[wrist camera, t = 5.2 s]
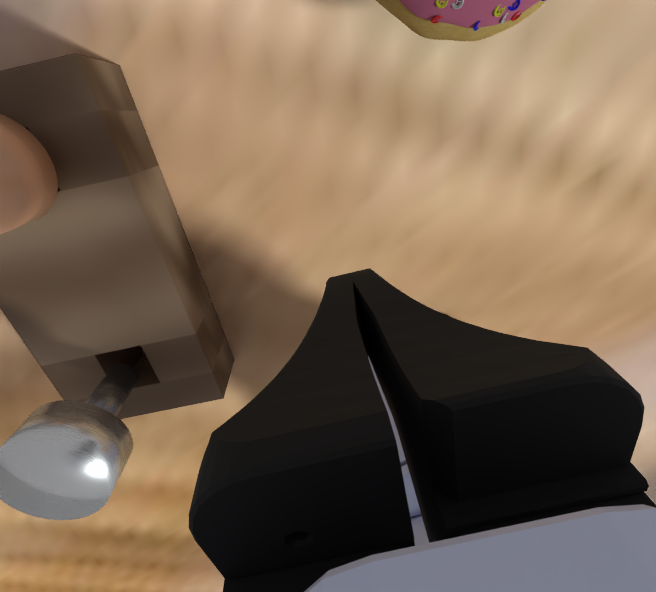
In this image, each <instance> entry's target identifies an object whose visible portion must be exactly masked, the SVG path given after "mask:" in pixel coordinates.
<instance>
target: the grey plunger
mask: <svg viewBox="0 0 656 592" xmlns="http://www.w3.org/2000/svg"><path fill="white" fill-rule="evenodd" d="M138 379H139V376H138V373H137V371H136V370H135V369H134V368H132V367H131V366H129V365H125V364H117V365H114V366H113V367H111V369H110V370H109V371H108V372H107V374H106V375H105V376H104V378H103V379H102V380H101V382H100V383H99V384H98V386H97V387H96V388H95V390H94V391H93V392H92V394H91V395H90V396H89V398H88V399H87V400H86V402H81V401H70V400H65V401H55V402H51V403H47V404H45V405H42V406H40V407H39V408H37V409H36V410H35V411H33V412H32V413H31V414H30V415H29V417H28V418H27V419H26V420H25V421H24V422H23V423H22V424H21V425H20V427H19V428H18V429H17V430H16V431H15V432H14V433H13V434H12V435H11V436H10V438H9V439H8V440H7V441H6V442H5V443H4V444H3V445H2V446H1V447H0V499H1V500H2V501H3V502H5V503H6V504H8V505H9V506H11V507H12V508H14V509H16V510H18V511H21V512H23V513H26V514H29V515H32V516H35V517H39V518H44V519H52V520H72V519H79V518H83V517H86V516H89V515H91V514H93V513H95V512H97V511H98V510H100V509H101V508H102V507H103V506H104V505H105V504H106V502H107V501H108V499H109V497H110V495H111V493H112V491H113V489H114V487H115V485H116V483H117V481H118V479H119V477H120V475H121V473H122V471H123V469H124V467H125V465H126V463H127V461H128V459H129V457H130V455H131V453H132V450H133V439H132V436H131V433H130V431H129V429H128V428H127V427H126V425H125V424H124V423H123V422H122V421H121V420H120V419H119V418H118V417H117V414H118V412H119V411H120V409H121V408H122V406H123V404H124V403H125V401H126V399H127V398H128V396H129V395H130V393H131V391H132V390H133V388H134V387H135V385H136V383H137V382H138Z"/></svg>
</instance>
